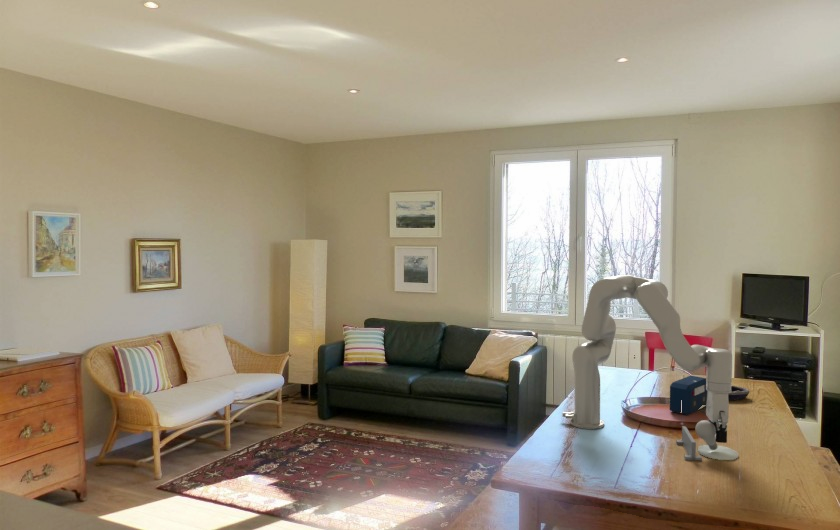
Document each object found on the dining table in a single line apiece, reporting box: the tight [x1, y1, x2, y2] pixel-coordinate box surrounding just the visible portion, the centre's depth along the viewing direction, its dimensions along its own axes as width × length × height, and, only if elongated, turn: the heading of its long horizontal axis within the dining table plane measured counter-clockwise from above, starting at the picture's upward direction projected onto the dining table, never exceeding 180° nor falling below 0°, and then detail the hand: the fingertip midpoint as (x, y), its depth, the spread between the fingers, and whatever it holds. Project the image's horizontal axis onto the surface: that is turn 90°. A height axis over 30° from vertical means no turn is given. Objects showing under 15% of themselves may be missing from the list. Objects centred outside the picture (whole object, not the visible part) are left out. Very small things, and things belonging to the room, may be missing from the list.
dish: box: [728, 385, 751, 401], centre depth 263 cm, size 16×31×5 cm, turn 73°
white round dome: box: [697, 444, 739, 461], centre depth 196 cm, size 12×12×1 cm
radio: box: [669, 375, 708, 416], centre depth 244 cm, size 21×9×20 cm, turn 131°
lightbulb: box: [694, 419, 718, 450], centre depth 196 cm, size 6×6×11 cm
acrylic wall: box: [675, 425, 703, 462], centre depth 198 cm, size 5×16×6 cm, turn 166°
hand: (717, 437), depth 196 cm, fingers open, 9 cm apart
